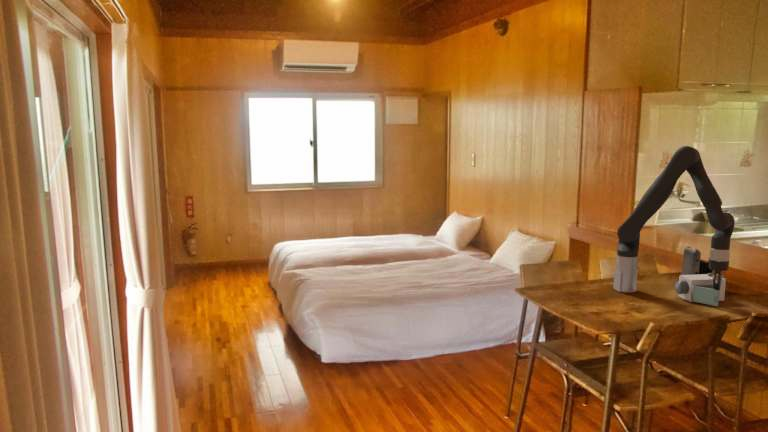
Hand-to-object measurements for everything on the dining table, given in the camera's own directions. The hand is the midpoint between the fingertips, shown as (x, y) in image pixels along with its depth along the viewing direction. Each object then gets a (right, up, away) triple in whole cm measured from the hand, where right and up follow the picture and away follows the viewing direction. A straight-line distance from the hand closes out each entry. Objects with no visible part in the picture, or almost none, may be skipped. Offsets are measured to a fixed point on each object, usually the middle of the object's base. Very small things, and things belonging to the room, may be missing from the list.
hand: (716, 297), depth 243 cm
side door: (-5, -3, +1) cm, 6 cm away
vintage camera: (+9, 0, +28) cm, 29 cm away
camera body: (-2, -2, +10) cm, 11 cm away
